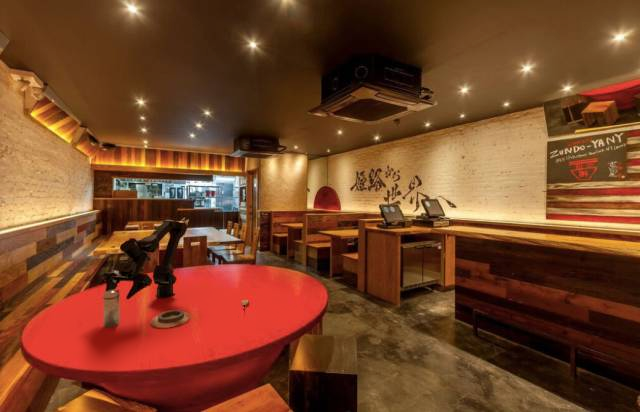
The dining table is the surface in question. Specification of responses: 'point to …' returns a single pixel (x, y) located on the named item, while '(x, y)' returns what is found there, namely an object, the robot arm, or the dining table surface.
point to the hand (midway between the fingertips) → (116, 298)
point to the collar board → (156, 324)
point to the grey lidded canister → (111, 308)
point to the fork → (244, 302)
